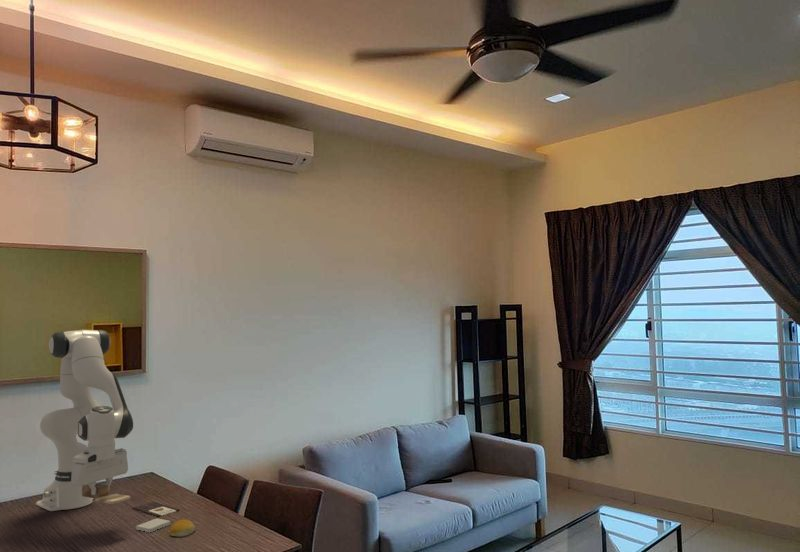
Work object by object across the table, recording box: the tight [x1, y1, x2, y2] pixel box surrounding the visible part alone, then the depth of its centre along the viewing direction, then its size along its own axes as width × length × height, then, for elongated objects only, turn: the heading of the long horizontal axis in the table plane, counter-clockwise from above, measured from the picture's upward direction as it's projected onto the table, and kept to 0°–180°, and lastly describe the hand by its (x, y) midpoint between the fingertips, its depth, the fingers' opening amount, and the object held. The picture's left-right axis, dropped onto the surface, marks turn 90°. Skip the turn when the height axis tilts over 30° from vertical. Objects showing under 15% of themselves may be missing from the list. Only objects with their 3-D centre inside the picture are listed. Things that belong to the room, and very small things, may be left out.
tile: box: [135, 517, 171, 534], centre depth 210 cm, size 2×9×7 cm
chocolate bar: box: [132, 501, 180, 518], centre depth 229 cm, size 9×1×18 cm
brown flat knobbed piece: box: [82, 483, 131, 505], centre depth 207 cm, size 19×7×4 cm, turn 64°
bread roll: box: [169, 519, 196, 538], centre depth 205 cm, size 8×9×4 cm
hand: (100, 492), depth 207 cm, fingers closed on brown flat knobbed piece, 3 cm apart
